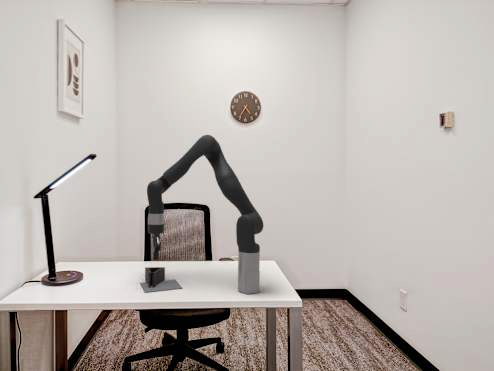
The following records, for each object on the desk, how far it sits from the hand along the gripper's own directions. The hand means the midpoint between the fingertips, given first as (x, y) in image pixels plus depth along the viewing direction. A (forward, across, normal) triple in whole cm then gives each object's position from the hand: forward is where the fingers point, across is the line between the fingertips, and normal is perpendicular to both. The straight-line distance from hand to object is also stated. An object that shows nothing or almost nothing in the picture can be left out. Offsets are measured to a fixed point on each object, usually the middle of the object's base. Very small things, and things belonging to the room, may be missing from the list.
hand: (155, 259), depth 175 cm
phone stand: (+6, -2, 0) cm, 7 cm away
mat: (+10, -11, 0) cm, 15 cm away
